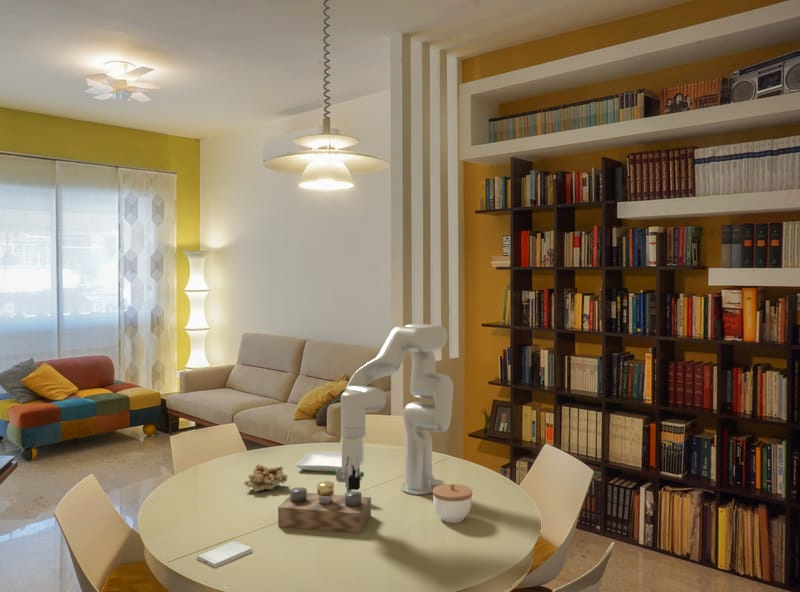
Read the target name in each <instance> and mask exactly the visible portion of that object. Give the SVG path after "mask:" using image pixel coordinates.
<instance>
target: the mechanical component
mask: <svg viewBox="0 0 800 592" xmlns="http://www.w3.org/2000/svg"><path fill="white" fill-rule="evenodd" d="M333 475H334V476H335V477H336V478H335V479H336V481H337V482H338V483H344V484H345V485H344V486H345V488H346V493H347V492H350V491H352V490H350V489H349V476H348V468H347V469H344V470H343V469H338V470H335V471H334V472H333ZM358 476H360V482H361V481H362V479H363V478H364V476H365V473H364V471H361V470H360V475H358Z"/></svg>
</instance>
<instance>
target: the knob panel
mask: <svg viewBox="0 0 800 592" xmlns="http://www.w3.org/2000/svg"><path fill="white" fill-rule="evenodd" d="M277 513H278V514H277V515H278V516H277V517H278V519H277V520H278V522H277V525H278V527H279V528H280V527H281V528H293V529H306V530H318V531H327V532H328V531H331V532H342V533H343V532H344V533H351V534H352V533H353V534H354V533H355V534H361V532H362V531H363V529H364V528H365V526H366V524H367V522H368V521H369V519H371V516H372V497H371V496H362V504H361V505H359V506H358V507H350V506H346V505H345V494H343V495H341V494H333V495H332V503H331V504H330V505H325V504H319V495H318V494H317V492H316V493H313V492H307V500H306V501H304V502H303V503H298V502H292V501H290V496H288V497H287V498H286V499H285V500H284V501H283V502H282V503H280V505H279V506H277Z"/></svg>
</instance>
